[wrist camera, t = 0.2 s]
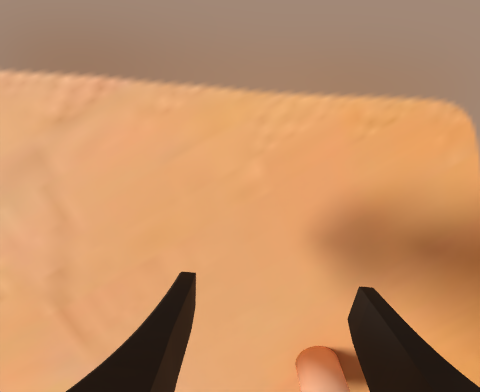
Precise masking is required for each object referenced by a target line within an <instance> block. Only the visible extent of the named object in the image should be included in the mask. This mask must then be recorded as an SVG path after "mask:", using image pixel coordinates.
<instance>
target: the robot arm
mask: <svg viewBox="0 0 480 392" xmlns="http://www.w3.org/2000/svg"><path fill="white" fill-rule="evenodd" d="M195 296H196V273H191V272H181V273H179V275H178V277H177V279H176V280H175V282H174V283H173V285H172V286H171V288H170V289H169V291H168V292H167V294H166V295H165V296H164V298H163V299H162V300H161V302H160V303H159V304H158V305H157V307H156V308H155V309H154V311H153V312H152V313H151V314H150V315H149V316H148V318H147V319H146V320H145V321H144V322H143V323H142V325H141V326H140V327H139V328H138V329H137V330H136V331H135V332H134V333H133V334H132V335H131V336H130V337H129V338H128V339H127V340H126V341H125V342H124V343H123V344H122V345H121V346H120V347H119V348H118V349H117V350H116V351H115V352H114V353H113V354H112V355H111V356H110V357H108V358H107V359H106V360H105V361H104V362H103V363H102V364H100V365H99V366H98V367H97V368H96V369H94V370H93V371H92V372H91V373H89V374H88V375H87V376H86V377H84V378H83V379H82V380H81V381H79V382H78V383H77V384H75V385H74V386H73V387H71V388H70V389H69V390H67V391H66V392H174V391H175V387H176V383H177V379H178V375H179V372H180V368H181V365H182V361H183V358H184V354H185V351H186V347H187V343H188V340H189V336H190V333H191V329H192V323H193V317H194V311H195ZM348 323H349V328H350V333H351V337H352V341H353V345H354V348H355V351H356V353H357V356H358V359H359V362H360V365H361V368H362V371H363V373H364V376H365V379H366V382H367V385H368V387H369V390H370V392H480V387H478V386H477V385H476V384H474V383H473V382H472V381H470V380H469V379H468V378H467V377H465V376H464V375H463V374H462V373H460V372H459V371H458V370H457V369H456V368H454V367H453V366H452V365H451V364H450V363H449V362H447V361H446V360H445V359H444V358H443V357H442V356H440V355H439V354H438V353H437V352H436V351H435V350H434V349H433V348H432V347H431V346H430V345H429V344H427V343H426V342H425V341H424V340H423V339H422V338H421V337H420V336H419V335H418V334H417V333H416V332H415V331H414V330H413V329H412V328H411V327H410V326H409V325H408V324H407V323H406V322H405V321H404V320H403V319H402V318H401V317H400V316H399V315H398V314H397V313H396V311H395V310H394V309H393V308H392V307H391V306H390V305H389V304H388V303H387V302H386V301H385V300H384V299H383V298H382V297H381V295H380V294H379V293H378V292H377V291H376V290H375V289H374V288H370V287H359V288H358V291H357V294H356V297H355V300H354V302H353V305H352V308H351V311H350V314H349V316H348Z"/></svg>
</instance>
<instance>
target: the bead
mask: <svg viewBox="0 0 480 392" xmlns="http://www.w3.org/2000/svg"><path fill="white" fill-rule="evenodd" d="M296 369H297V374H298V379H299V384H300V389H301V392H350V390H349V387H348V385H347V382H346V379H345V377H344V374H343V371H342V368H341V366H340V363H339V360H338V357H337V355H336V354H335V352H334V351H332V350H331V349H329V348H327V347H323V346H314V347H310V348H307V349H305V350H304V351H302V352H301V353H300V354H299V355H298V357H297V359H296Z"/></svg>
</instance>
